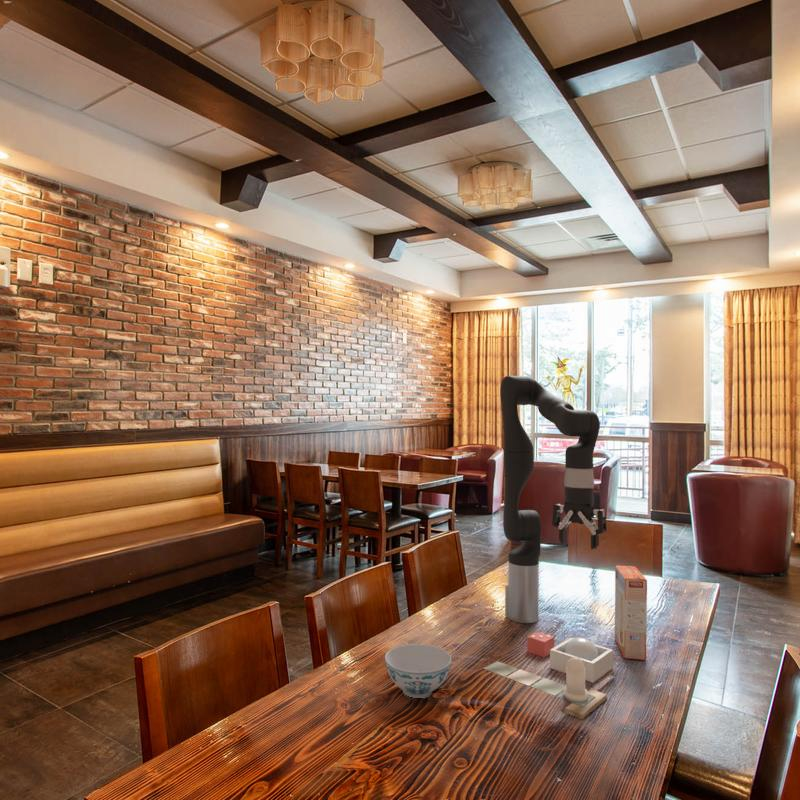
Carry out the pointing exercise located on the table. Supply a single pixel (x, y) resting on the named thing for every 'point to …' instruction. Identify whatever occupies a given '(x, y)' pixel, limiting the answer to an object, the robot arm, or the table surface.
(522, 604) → the robot arm
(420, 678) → the chinaware
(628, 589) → the cracker box
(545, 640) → the die
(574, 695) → the pawn
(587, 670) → the button housing
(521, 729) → the table surface
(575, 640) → the dome
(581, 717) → the board
